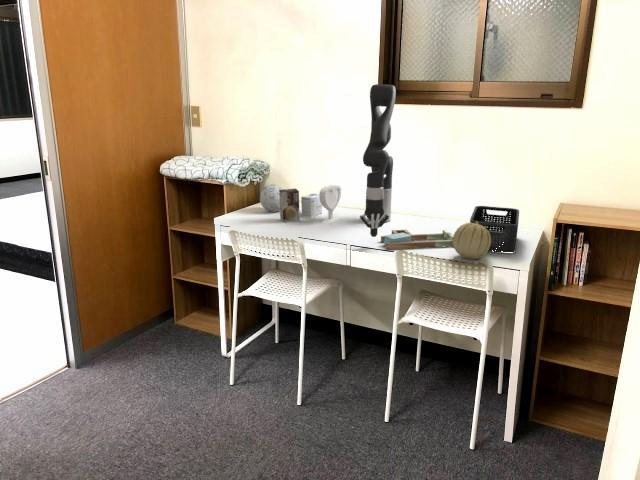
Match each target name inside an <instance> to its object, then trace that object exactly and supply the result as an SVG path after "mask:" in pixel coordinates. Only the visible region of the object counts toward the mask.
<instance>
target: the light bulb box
mask: <svg viewBox="0 0 640 480" xmlns="http://www.w3.org/2000/svg"><path fill="white" fill-rule="evenodd" d="M319 195H320V193H310V194H305V195H303V196H301V197H300V199H301V200H300V201H301V216H302V217H307V218H313V217H317V216H319V215H322V214H323V206H322V205H321V202H320V197H319Z"/></svg>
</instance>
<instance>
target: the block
mask: <svg viewBox="0 0 640 480" xmlns="http://www.w3.org/2000/svg"><path fill="white" fill-rule="evenodd" d="M384 236H385V240H384V242H383V245H384V246H386V247H387V243H400V242H412V241H411V235H408V234H406V233H397V234H392V233H391V234H386V235H384Z"/></svg>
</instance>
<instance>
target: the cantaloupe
mask: <svg viewBox="0 0 640 480" xmlns="http://www.w3.org/2000/svg"><path fill="white" fill-rule="evenodd" d="M453 235H454V236H453V246H452V247H453V248H454V250H455V252H456V253H457V254H458V255H459V256H461V257H463V258H465V259H468V260H469V259H471V260H477V259H479V258H481V257H483V256H485V255H486V254H487V253H489V252H488V250H489V248H490V245H491V236H490V233H489V231H488V230H487V229H486V228H485V227H483V226H482V225H479V224H478V222H477V221H476V223H470V222H466V223H463V224H461V225H460V226H459V227H458V228H457V229H456V231H455V232H454V234H453Z"/></svg>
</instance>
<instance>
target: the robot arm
mask: <svg viewBox="0 0 640 480" xmlns="http://www.w3.org/2000/svg"><path fill="white" fill-rule="evenodd" d="M396 96H397V91H396V86H394V85H393V84H380V83H379V84H378V83H377V84H373V85H371V87H370V91H369V103H370V112H371V115H370V116H371V122H370V123H371V125H370V137H369V142H368V145H367V147H366V149H365V150H364V153H363V157H362V162H363V165H365V166H366V167H370V169H371V172H368V173H367V176H366V191H365V210H364V213H363V214H360V215H359V218H360V220H361V221H362V222H363V223H364V225H365V226H366V228H370V229H369V234H370V236H371V237H372V238H376V237H377V236H378V230H379V228H382V227H383V225H384V224H385V223H388V222H391V220H392V219H391V213H392V192H393V191H392V189H393V188H392V187H393V182H392V181H393V170H394V159H393V156H392V155H391V156H390V154H389V152H388V150H385V148H386V147H387V146H388V144H389V143H390V141H391V139H392V125H391V124H390V123H391V119H392V115H393V112H394V108H395V104H396V98H397V97H396ZM381 107H384V108H385V110H384V111H383V112H382V111H381ZM366 219H367V220H369V222H368V221H367V220H366Z"/></svg>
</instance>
